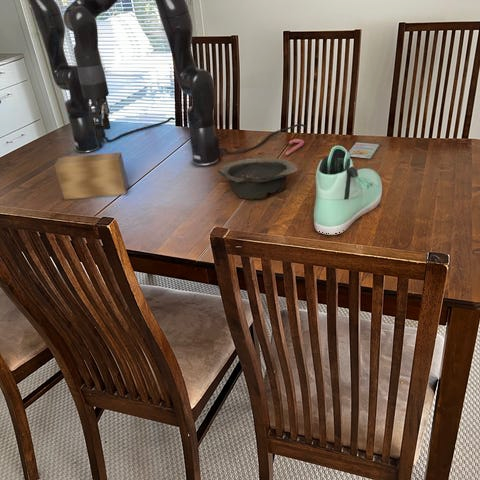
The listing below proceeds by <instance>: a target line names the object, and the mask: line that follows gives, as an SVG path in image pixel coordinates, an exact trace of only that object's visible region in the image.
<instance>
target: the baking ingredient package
mask: <svg viewBox="0 0 480 480" xmlns="http://www.w3.org/2000/svg"><path fill="white" fill-rule="evenodd" d="M379 147H380V144H377V143H369V142H357V141H356V142H355V143H354V144H353V146H352V147H351V148H350V149H349V151H347V152H348V153H349V156H350V157H352V158H361V159H371V158H372V157H373V156H374V154H375V152H376V150H377V149H378V148H379Z"/></svg>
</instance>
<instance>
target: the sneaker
mask: <svg viewBox="0 0 480 480" xmlns="http://www.w3.org/2000/svg"><path fill="white" fill-rule="evenodd" d="M348 152H349V151H348V150H347V148H345V147H344V146H342V145H334V146H333V147H331V149H330V151H329V154H327V155H326V156H325V157H324V158H322V159H321V160H320V161H319V163H318V164H317V165H318V166H317V168H316V172H315V201H314V207H313V225H314V229H315V231H316V232H318V233H320V234H323V235H326V236H327V235H328V236H336V235H339V234H342V233H344V232H345V231H347V230H348V229H349V228H350V227H351V226H352V225H353V224H354V222H356V221H357V220H358V219H359V218H360V217H362V216H363V215H365V214H367V213H370V212H372V210H374V209H375V208H377V207H378V205H380V203H381V200H382V196H383V184H382V183H383V182H382V179H381V176H380V175H379V173H378V172H377V171H376V170H374V169H372V168H367V167H365V168H358V169H357V168H355V167H354V161H353V159H352V158H351V156H349V153H348ZM343 230H344V231H343ZM319 231H320V232H319ZM322 232H323V233H322ZM339 232H340V233H339ZM326 233H327V234H326ZM328 233H329V234H328ZM335 233H337V234H335Z"/></svg>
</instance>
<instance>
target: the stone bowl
mask: <svg viewBox="0 0 480 480" xmlns="http://www.w3.org/2000/svg"><path fill="white" fill-rule="evenodd" d="M298 170H299V169H298V167H297V166H296V164H295V163H293V162H291V161H289V160H287V159H281V158H272V157H271V158H269V157H255V158H243V159H239V160H235V161H232V162H231V161H230V162H228V163H225V164H223V165H222V166H221V168H220V169H219V170H217V173H219V174H220V175H221V176H223V177H224V178H226V179H227V180H228V182H229V186H230V188H231V190H232V191H234V192H235V193H236V196H237V198H239V199H241V200H243V199H245V200H251V201H252V200H255V199H257V200H262V199H264V198H266V197H267V196H268V193H269V194H273V193H281V192H282V191H284V190H285V189H284V188H285V185H286V183H287V182H286V181H287V177H289V176H290V175H292V174H294V173H296V172H297V171H298Z"/></svg>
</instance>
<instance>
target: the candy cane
mask: <svg viewBox="0 0 480 480" xmlns="http://www.w3.org/2000/svg"><path fill="white" fill-rule="evenodd" d="M293 144H296V145H295V146H293V147H292V148H290V149H289V150H286V152H285V153H284V155H285V156H289V155H291V154H292V153H294V152H296V151H297V150H298V149H300V148H301V147H303V146H304V145H305V141H304V140H303V139H300V138H294V139H291V140H289V141H288V145H290V146H291V145H293Z"/></svg>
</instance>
